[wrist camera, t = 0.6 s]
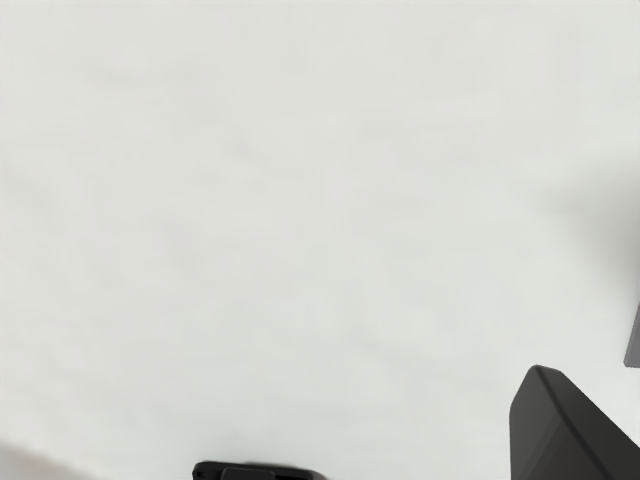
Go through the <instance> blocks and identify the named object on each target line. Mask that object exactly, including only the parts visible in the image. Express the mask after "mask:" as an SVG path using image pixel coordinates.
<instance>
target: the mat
mask: <svg viewBox="0 0 640 480" xmlns="http://www.w3.org/2000/svg"><path fill="white" fill-rule="evenodd" d="M624 364H625V366H626V367H634V368H640V304H639V307H638V311H637V315H636V318H635V322H634V326H633V329H632V333H631V337H630V340H629V344H628V348H627V351H626V355H625V359H624Z"/></svg>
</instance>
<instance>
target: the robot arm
mask: <svg viewBox="0 0 640 480" xmlns="http://www.w3.org/2000/svg"><path fill="white" fill-rule="evenodd" d="M509 426H510V462H511V480H640V448H639V447H638V446H637V445H636V444H635V443H634V442H633V441H632V440H631V439H630V438H629V437H628V436H627V435H626V434H625V433H624V432H623V431H622V430H621V429H620V428H619V427H618V426H617V425H616V424H615V423H614V422H613V421H611V420H610V419H609V418H608V417H607V416H606V415H605V414H604V413H603V412H602V411H601V410H600V409H599V408H598V407H597V406H596V405H595V404H594V403H593V402H592V401H591V400H590V399H589V398H588V397H587V396H586V395H585V394H584V393H583V392H582V391H581V390H580V389H579V388H578V387H577V386H576V385H574V384H573V383H572V382H571V381H570V380H569V379H568V378H567V377H566V376H565V375H564V374H563V373H562V372H561V371H559V370H557V369H553V368H549V367H545V366H541V365H534V366H532V367H531V368H530V369H529V370H528V372H527V374H526V376H525V378H524V380H523V382H522V384H521V386H520V388H519V390H518V392H517V394H516V395H515V397H514V399H513V402H512V404H511V408H510V414H509ZM192 475H193V480H313V476H312V475H311V474H310V473H308V472H304V471H294V470H283V469H272V468H260V467H249V466H238V465H226V464H215V463H204V462H200V463H197V464H196V465H195V467H194V469H193V472H192Z"/></svg>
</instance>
